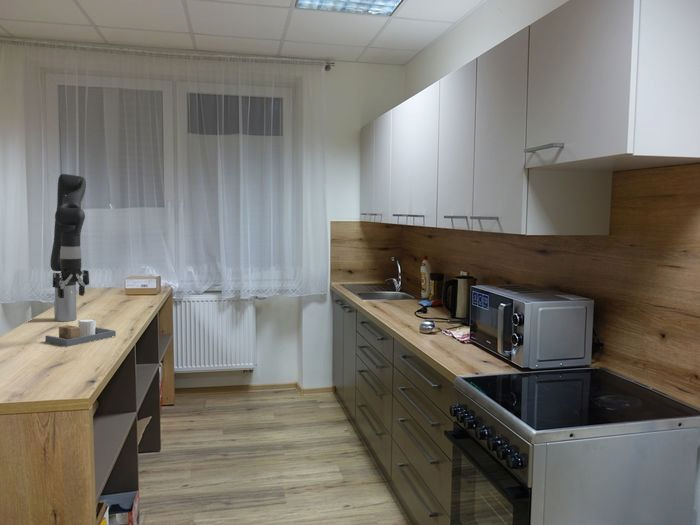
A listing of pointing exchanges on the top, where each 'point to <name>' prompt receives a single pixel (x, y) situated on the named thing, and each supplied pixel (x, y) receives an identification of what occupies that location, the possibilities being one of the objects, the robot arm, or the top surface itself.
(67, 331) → the block
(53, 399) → the top surface
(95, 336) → the grey u-shaped bracket
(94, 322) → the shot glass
